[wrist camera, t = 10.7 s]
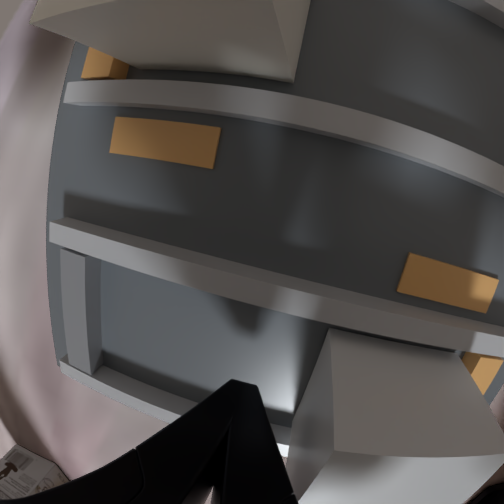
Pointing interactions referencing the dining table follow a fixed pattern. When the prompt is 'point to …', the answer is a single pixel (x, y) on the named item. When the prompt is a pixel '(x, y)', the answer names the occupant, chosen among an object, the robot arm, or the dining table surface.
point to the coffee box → (27, 474)
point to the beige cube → (186, 33)
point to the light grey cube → (390, 427)
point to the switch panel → (282, 209)
